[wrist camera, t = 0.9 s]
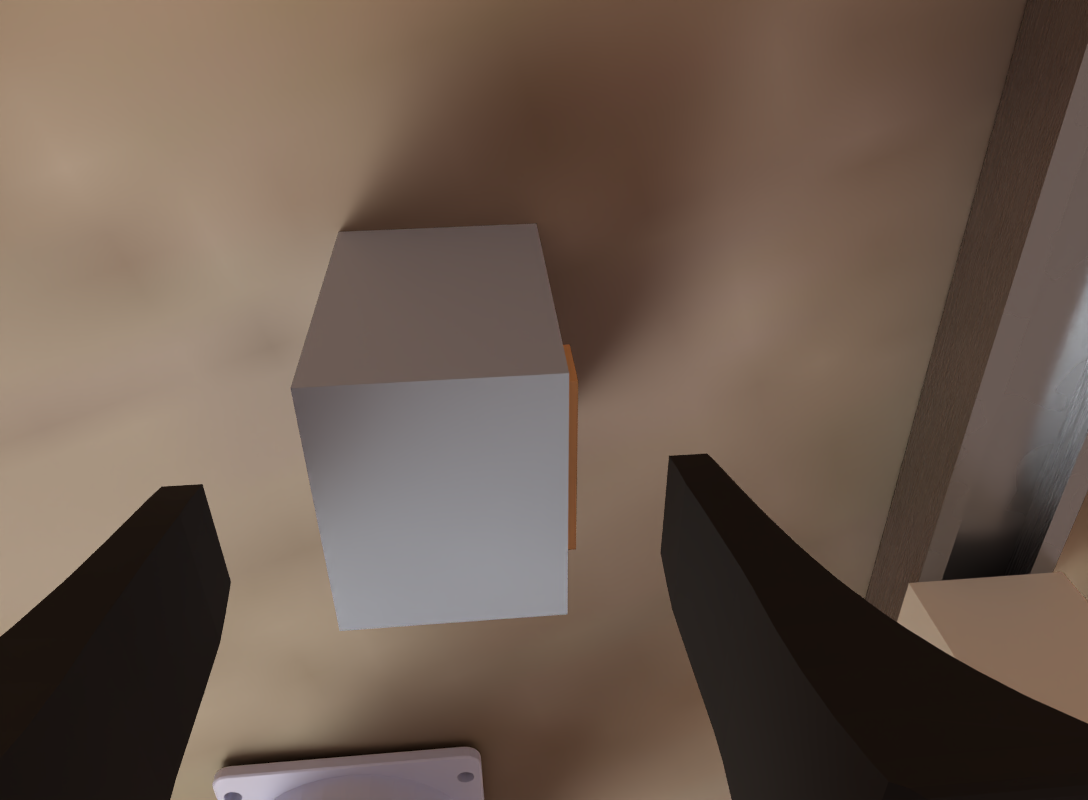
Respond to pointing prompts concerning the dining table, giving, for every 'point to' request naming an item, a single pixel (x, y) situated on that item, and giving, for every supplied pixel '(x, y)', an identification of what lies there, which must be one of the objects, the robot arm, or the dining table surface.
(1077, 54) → the rail
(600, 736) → the dining table surface
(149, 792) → the robot arm
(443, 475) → the block
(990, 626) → the beige rectangular block
